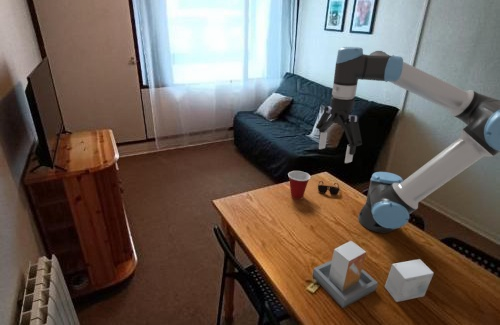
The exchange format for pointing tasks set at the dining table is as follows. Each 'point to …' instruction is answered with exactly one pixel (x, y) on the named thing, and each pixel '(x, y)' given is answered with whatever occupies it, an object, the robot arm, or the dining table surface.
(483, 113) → the robot arm
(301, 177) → the plastic cup
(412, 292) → the skincare box
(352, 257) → the small box
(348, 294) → the tray
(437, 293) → the dining table surface
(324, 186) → the sunglasses
